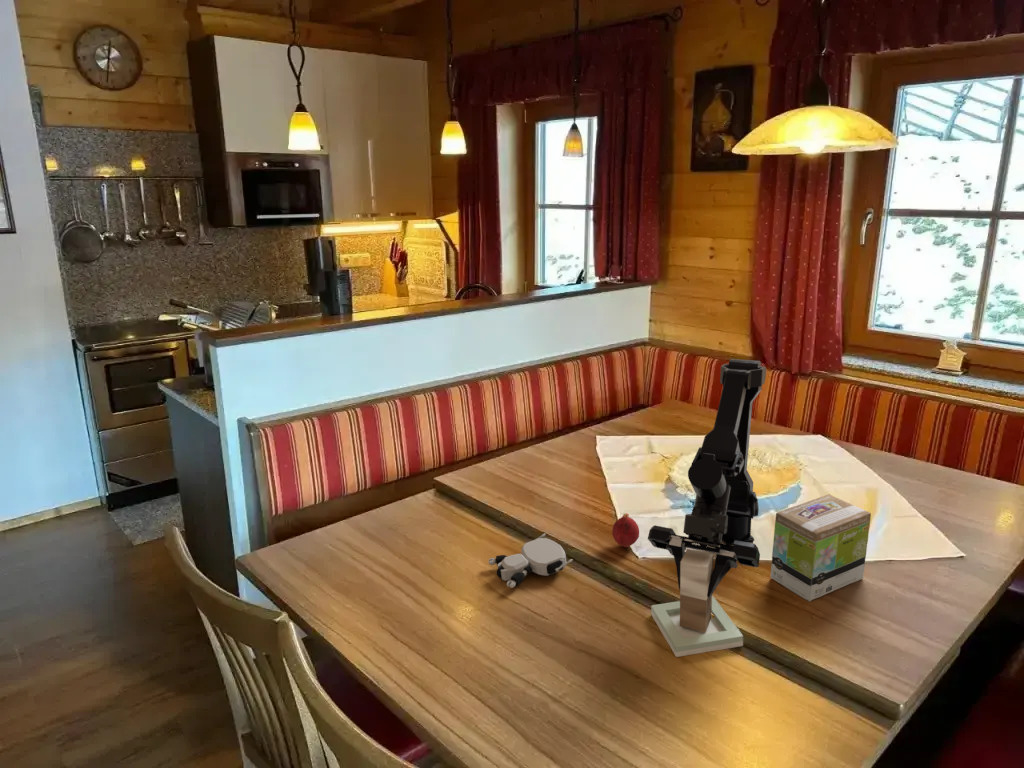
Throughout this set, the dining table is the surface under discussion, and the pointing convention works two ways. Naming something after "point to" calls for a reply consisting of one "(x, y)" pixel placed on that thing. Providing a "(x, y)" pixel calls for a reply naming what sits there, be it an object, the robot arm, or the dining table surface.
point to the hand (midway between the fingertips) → (694, 593)
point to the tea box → (819, 546)
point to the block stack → (695, 590)
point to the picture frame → (693, 641)
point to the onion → (625, 531)
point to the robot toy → (531, 561)
